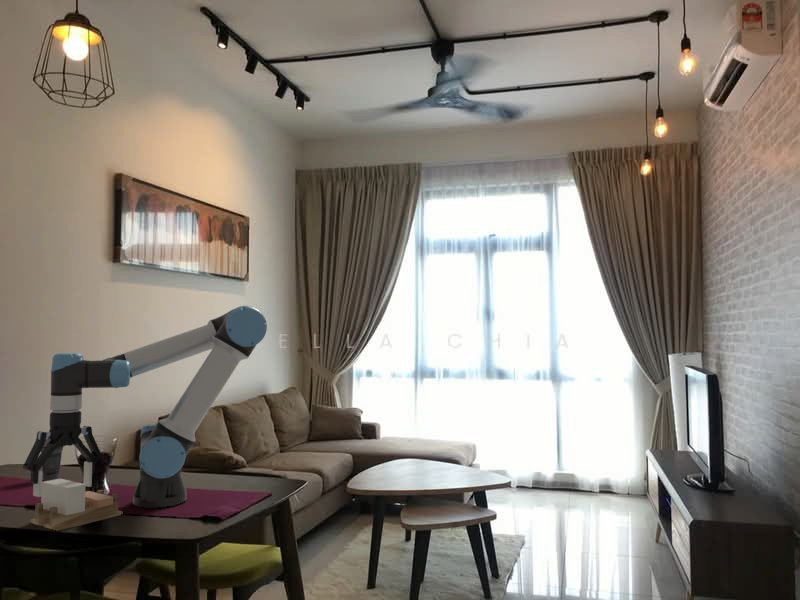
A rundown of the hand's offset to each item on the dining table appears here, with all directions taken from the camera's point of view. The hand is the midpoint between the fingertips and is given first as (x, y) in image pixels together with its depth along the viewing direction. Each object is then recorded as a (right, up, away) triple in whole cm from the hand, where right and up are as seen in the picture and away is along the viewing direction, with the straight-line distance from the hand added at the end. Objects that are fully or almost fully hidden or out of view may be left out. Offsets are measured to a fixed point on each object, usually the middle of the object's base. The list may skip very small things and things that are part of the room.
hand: (63, 491), depth 172 cm
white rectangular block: (0, -5, 0) cm, 5 cm away
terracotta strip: (+5, -5, +7) cm, 10 cm away
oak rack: (+2, -8, +3) cm, 9 cm away
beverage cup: (-30, -11, +49) cm, 58 cm away
